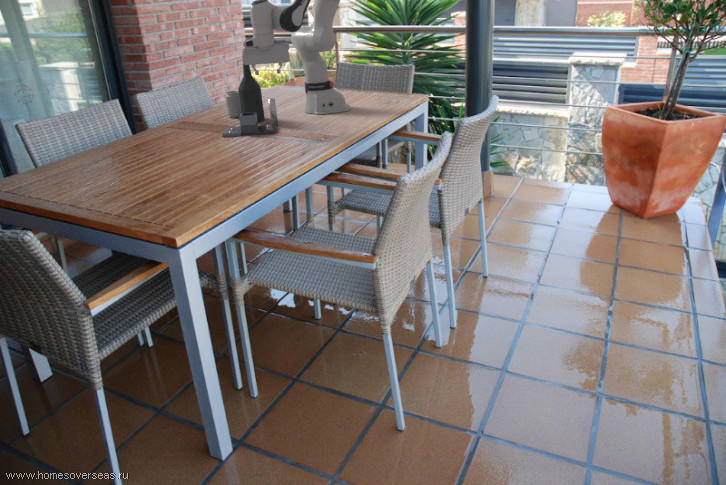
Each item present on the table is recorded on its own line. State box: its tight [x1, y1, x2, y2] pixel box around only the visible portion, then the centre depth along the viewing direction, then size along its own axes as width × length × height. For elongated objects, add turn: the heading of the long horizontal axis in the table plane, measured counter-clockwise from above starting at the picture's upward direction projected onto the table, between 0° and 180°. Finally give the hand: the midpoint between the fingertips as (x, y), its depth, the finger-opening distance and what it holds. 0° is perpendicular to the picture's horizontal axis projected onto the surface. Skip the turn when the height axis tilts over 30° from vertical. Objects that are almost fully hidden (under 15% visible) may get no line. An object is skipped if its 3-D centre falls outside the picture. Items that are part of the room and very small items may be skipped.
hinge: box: [221, 112, 278, 138], centre depth 249 cm, size 23×10×8 cm, turn 93°
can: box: [224, 90, 242, 119], centre depth 278 cm, size 8×8×12 cm
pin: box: [267, 97, 279, 127], centre depth 256 cm, size 3×3×12 cm
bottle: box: [237, 63, 265, 123], centre depth 264 cm, size 10×10×30 cm
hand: (268, 74), depth 249 cm, fingers open, 8 cm apart
